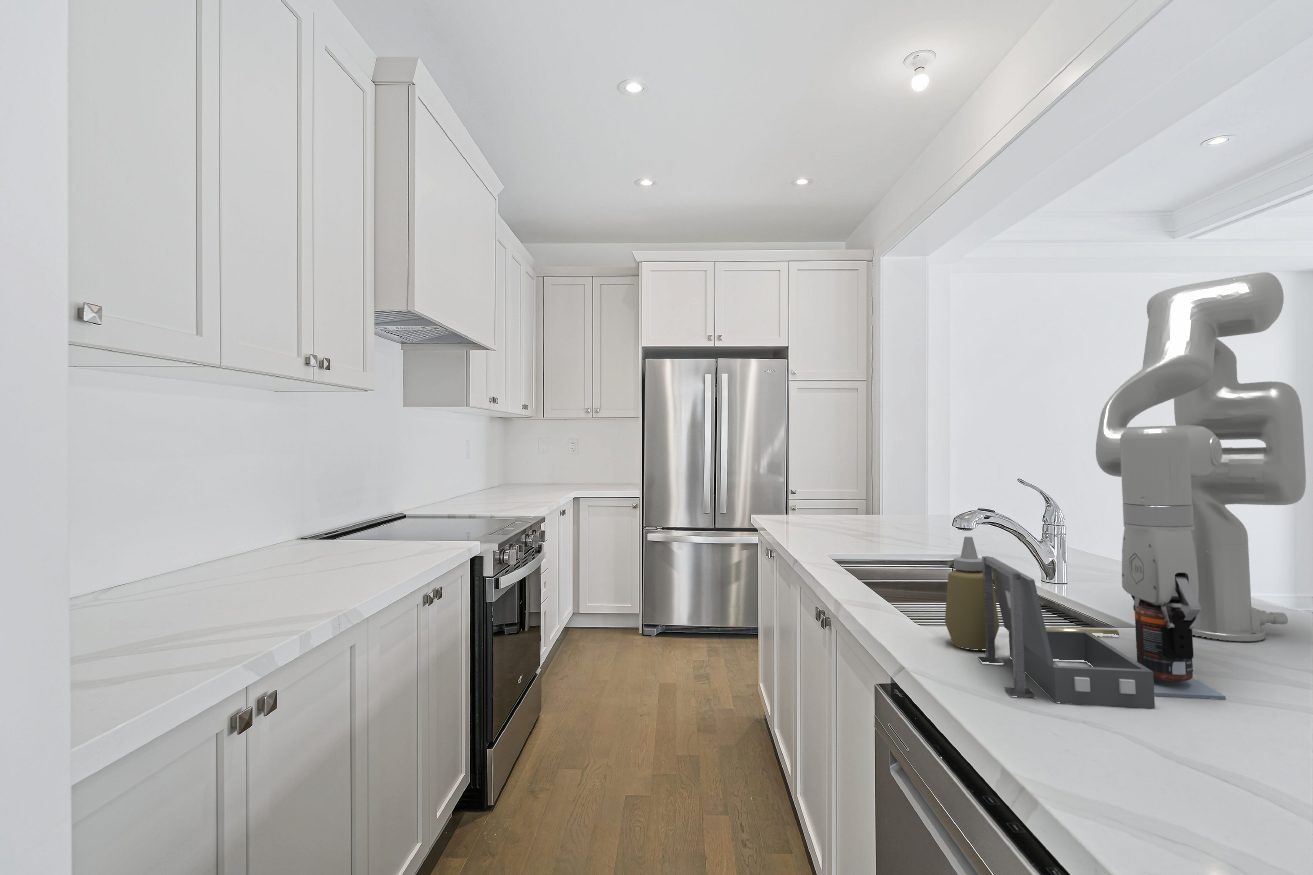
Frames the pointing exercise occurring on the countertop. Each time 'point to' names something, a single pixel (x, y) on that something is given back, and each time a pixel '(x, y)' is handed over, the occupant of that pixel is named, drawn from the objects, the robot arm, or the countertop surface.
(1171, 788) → the countertop surface
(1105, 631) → the rod
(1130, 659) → the case
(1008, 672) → the countertop surface
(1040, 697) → the countertop surface
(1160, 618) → the supplement bottle
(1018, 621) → the stay bracket
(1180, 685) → the mat
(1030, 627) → the lid
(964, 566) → the squeeze bottle
